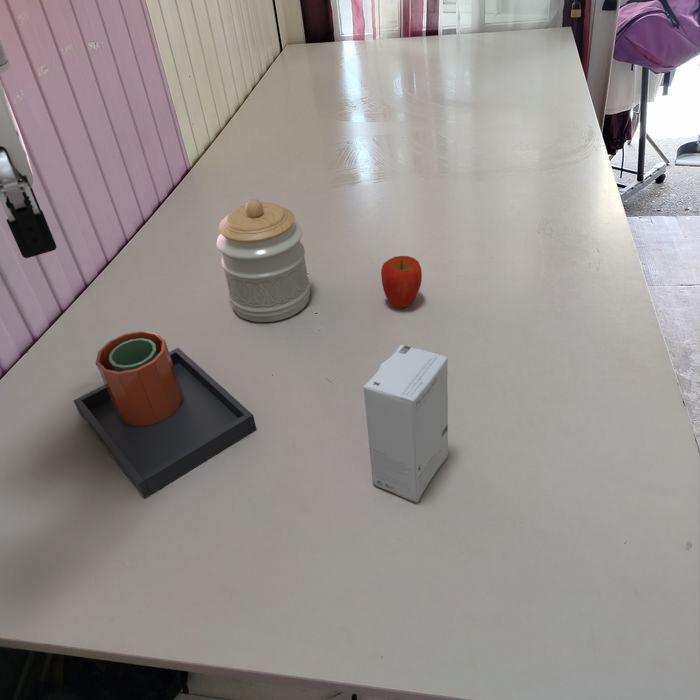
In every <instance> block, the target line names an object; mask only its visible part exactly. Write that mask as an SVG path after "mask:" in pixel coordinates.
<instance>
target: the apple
mask: <svg viewBox="0 0 700 700" xmlns="http://www.w3.org/2000/svg"><path fill="white" fill-rule="evenodd" d="M380 275H381V284H382V285H381V286H382V289H383V292H384V295H385V298H386V299H387V301H388V303H389V305H391V306H392V307H393V308H398V309H400V308H405V307H408V306H410V305H411V304H412V303H413V302H414V301H415V299H416V297H417V295H418V293H419V291H420V288H421V284H422V278H423V277H422V276H423V274H422V267H421V264H420V262H419V261H418V260H417V259H416V258H415V257H411V256H409V255H397V256H393V257H391V258H389V259H388V260H386V261H384V262H383V264H382V266H381V270H380Z"/></svg>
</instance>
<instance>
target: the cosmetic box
mask: <svg viewBox="0 0 700 700" xmlns="http://www.w3.org/2000/svg"><path fill="white" fill-rule="evenodd" d="M448 359H449V358H448V356H446V355H443V354H439V353H435V352H431V351H428V350H424V349H419V348H416V347H412V346H409V345H405V344H400V345H399V346H398V347H397V349H396V350H395V351H394V352H393V353H392V354H391V355H390V357H389V358H388V359H385V360H384V361H383V362H382V363H381V364H380V365H379V369H378V371H377V372H376V373H375V374H374V375H373V376H372V377H371V378H370V379H369V380H368V381H367V382H366V383H365V384H364V385H363V395H364V404H365V405H364V406H365V416H366V426H367V427H366V428H367V436H368V446H369V447H368V448H369V458H370V466H371V476H372V484H373V485H374V486H376V487H378V488H380V489H383V490H385V491H388V492H389V493H392V494H394V495H397V496H399V497H401V498H403V499H406V500H408V501H410V502H412V503H415V504H417V503H418V502H419V501H420V499H421V497H422V495H423V493H424V492H425V490H426V488H427V486H428V485H429V484H430V482H431V480H432V479H433V477H434V476H435V474H436V473H437V472H438V470H439V469H440V467H441V466H442V464H443V463H444V462H445V461H446V459H447V458H448V455H449V453H448V452H449V430H448V429H449V426H448V424H449V419H448V417H449V415H448V414H449V413H448V412H449V411H448V408H449V405H448V404H449V402H448V401H449V399H448V398H449V397H448V395H449V393H448V361H449V360H448Z"/></svg>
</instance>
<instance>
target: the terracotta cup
mask: <svg viewBox="0 0 700 700" xmlns="http://www.w3.org/2000/svg"><path fill="white" fill-rule="evenodd" d="M139 338H144V339H149V340H151V341H152V342H154V343H155V344H156V347H157V350H158V353H159V354H158V355H157V356H156V357H155V358H154V359H153V360H152V361H151V362H149V363H147V364H145V365H143V366H141V367H139V368H137V369H133V370H127V371H121V372H117V371H113V370H112V367H111V365H110V362H109V354H110V353H111V352H112V350H113V349H114V348H115V347H117V346H118V345H119V344H121V343H123V342H126V341H128V340H131V339H139ZM169 352H170V351H169V348H168V345H167V342H166V339H165V338H163V337H162V336H161V335H160V334H159V333H158V332H155V331H154V332H153V331H148V330H137V331H132V332H131V331H130V332H126V333H122V334H121V335H119V336H117V337H114V338H113V339H110V340H109V341H107V342H106V343H105V344H104V345H103V346H102V347H101V348H100V349H99V350H98V351H97V355H96V359H95V365H96V367H97V370H98V372H99V375H100V376H101V378H102V379H101V380H102V381H103V383H104V385H105V386H106V388H107V390H108V393H109V395H110V397H111V400H112V402H113V404H114V407H115V409H116V411H117V413H118V414H119V416H120V418H121V419H122V420H123V421H124V422H125V423H127V424H130V425H134V426H147V425H152V424H155V423H158V422H161V421H163V420H165V419H166V418H168V417H169V416H171V415H172V414H173V413H174V412H175V411H176V410H177V409H178V408H179V406H180V404H181V401H182V393H181V387H180V384H179V381H178V378H177V375H176V372H175V369H174V366H173V363H172V360H171V357H170V354H169Z"/></svg>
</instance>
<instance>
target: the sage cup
mask: <svg viewBox="0 0 700 700" xmlns="http://www.w3.org/2000/svg"><path fill="white" fill-rule="evenodd" d="M158 354H159V353H158V350H157V347H156V344H155V343H154V342H152V341H151V340H149V339H144V338H139V339H131V340H128V341H126V342H123V343H121V344H119V345H118V346H117V347H115V348H114V349H113V350H112V352H111V353H110V354H109V362H110V365H111V367H112V370H113V371H117V372H121V371H127V370H133V369H137V368H139V367H141V366H143V365H145V364H147V363H149V362H151V361H152V360H153V359H154V358H155V357H156V356H157V355H158Z"/></svg>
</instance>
